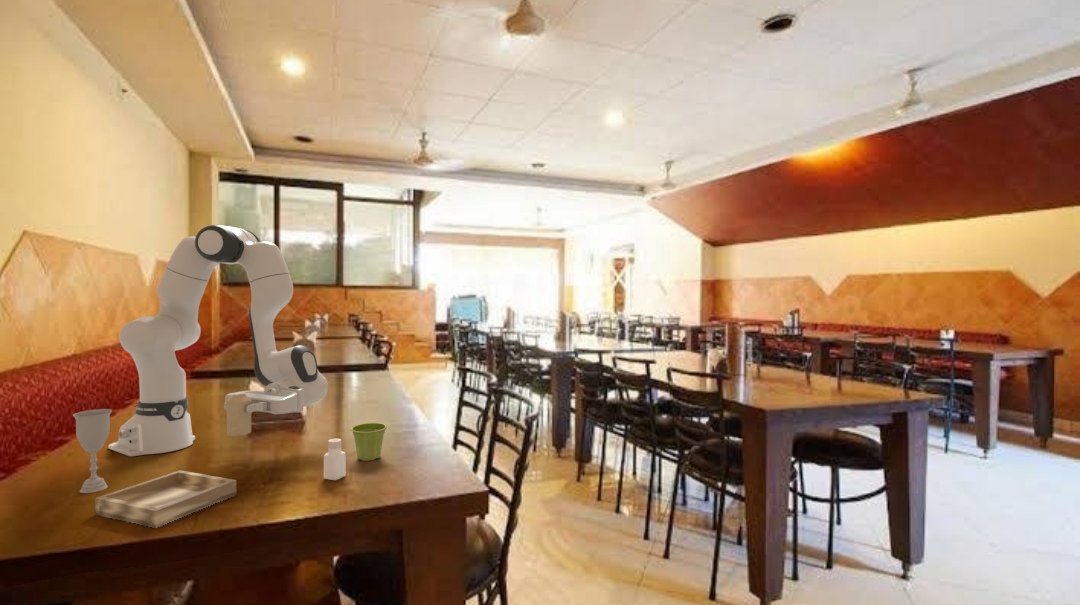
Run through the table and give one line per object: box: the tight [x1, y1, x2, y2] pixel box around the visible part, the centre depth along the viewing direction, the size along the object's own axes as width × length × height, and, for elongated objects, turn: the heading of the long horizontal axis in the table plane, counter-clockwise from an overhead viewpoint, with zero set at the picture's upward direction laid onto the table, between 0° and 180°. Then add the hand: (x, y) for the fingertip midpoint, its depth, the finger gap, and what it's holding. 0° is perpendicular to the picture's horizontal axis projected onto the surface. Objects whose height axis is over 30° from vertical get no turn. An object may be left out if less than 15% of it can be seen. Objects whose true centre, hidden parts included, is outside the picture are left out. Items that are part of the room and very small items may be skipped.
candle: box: [226, 394, 252, 437], centre depth 135 cm, size 6×6×10 cm
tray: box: [94, 469, 237, 530], centre depth 115 cm, size 18×18×4 cm
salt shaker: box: [323, 438, 347, 481], centre depth 132 cm, size 4×4×10 cm
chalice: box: [72, 408, 113, 494], centre depth 123 cm, size 7×7×18 cm
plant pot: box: [350, 422, 388, 462], centre depth 147 cm, size 9×9×9 cm
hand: (235, 407), depth 134 cm, fingers closed on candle, 5 cm apart
